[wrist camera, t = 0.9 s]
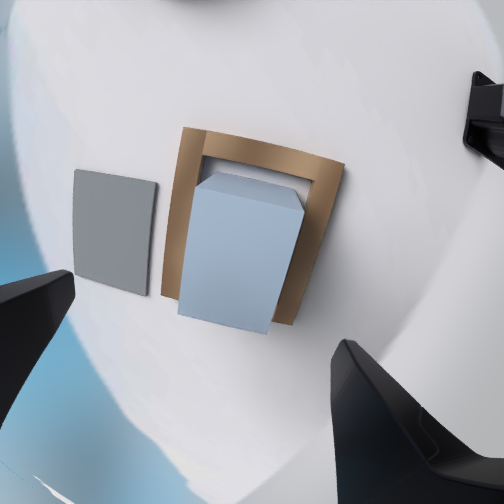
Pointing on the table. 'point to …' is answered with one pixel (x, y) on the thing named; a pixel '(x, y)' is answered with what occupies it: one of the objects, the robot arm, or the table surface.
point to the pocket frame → (262, 155)
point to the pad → (112, 229)
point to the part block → (238, 251)
